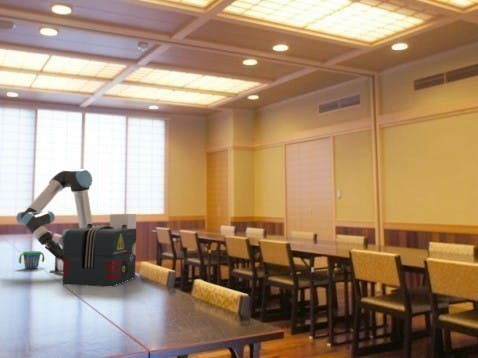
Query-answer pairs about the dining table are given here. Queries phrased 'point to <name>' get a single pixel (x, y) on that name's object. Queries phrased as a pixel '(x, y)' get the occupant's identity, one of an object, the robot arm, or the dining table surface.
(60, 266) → the swing panel
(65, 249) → the power unit
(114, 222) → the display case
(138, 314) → the dining table surface
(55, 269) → the panel post
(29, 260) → the snack cup
